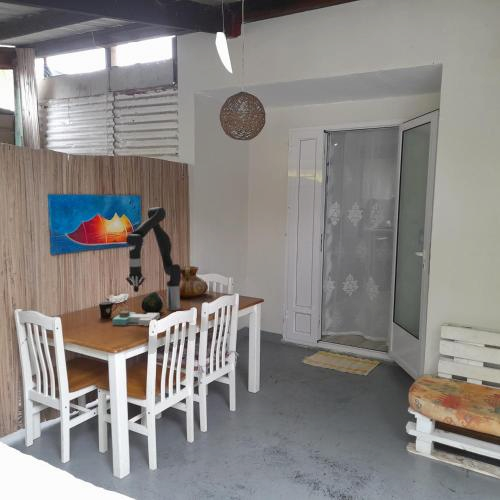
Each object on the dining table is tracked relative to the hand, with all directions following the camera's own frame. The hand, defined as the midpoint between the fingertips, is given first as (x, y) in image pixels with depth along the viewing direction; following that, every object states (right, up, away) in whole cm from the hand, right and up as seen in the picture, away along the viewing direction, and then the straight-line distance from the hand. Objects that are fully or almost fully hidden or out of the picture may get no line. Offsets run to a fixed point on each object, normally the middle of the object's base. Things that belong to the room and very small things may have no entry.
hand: (136, 291), depth 291 cm
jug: (+23, -11, +81) cm, 85 cm away
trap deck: (0, -20, +2) cm, 20 cm away
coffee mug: (-22, -18, +13) cm, 31 cm away
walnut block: (-8, -16, +2) cm, 18 cm away
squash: (+5, -17, +26) cm, 31 cm away
